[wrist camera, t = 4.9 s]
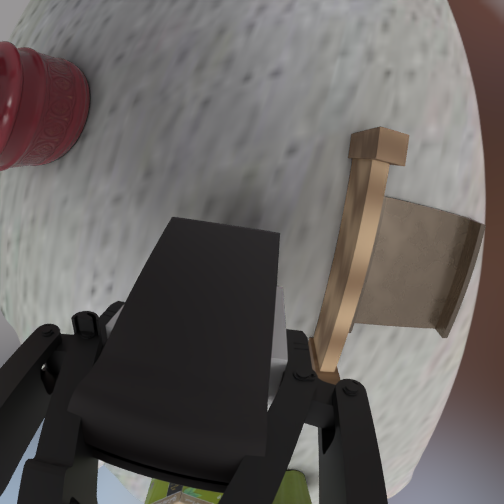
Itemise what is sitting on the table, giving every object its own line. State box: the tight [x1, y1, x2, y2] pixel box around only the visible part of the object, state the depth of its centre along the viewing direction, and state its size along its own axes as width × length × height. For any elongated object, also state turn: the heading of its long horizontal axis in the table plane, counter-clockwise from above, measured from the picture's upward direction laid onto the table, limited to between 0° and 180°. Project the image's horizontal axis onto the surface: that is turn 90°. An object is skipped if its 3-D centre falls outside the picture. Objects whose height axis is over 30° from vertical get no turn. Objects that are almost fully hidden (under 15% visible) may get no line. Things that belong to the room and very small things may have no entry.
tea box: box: [145, 478, 224, 504], centre depth 35 cm, size 15×10×15 cm
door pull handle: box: [308, 127, 409, 385], centre depth 26 cm, size 25×2×8 cm, turn 172°
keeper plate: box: [348, 196, 486, 338], centre depth 28 cm, size 14×14×3 cm
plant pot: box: [272, 470, 312, 504], centre depth 38 cm, size 12×12×11 cm
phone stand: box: [67, 217, 280, 493], centre depth 12 cm, size 9×6×12 cm, turn 171°
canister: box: [0, 41, 90, 171], centre depth 18 cm, size 13×13×18 cm
